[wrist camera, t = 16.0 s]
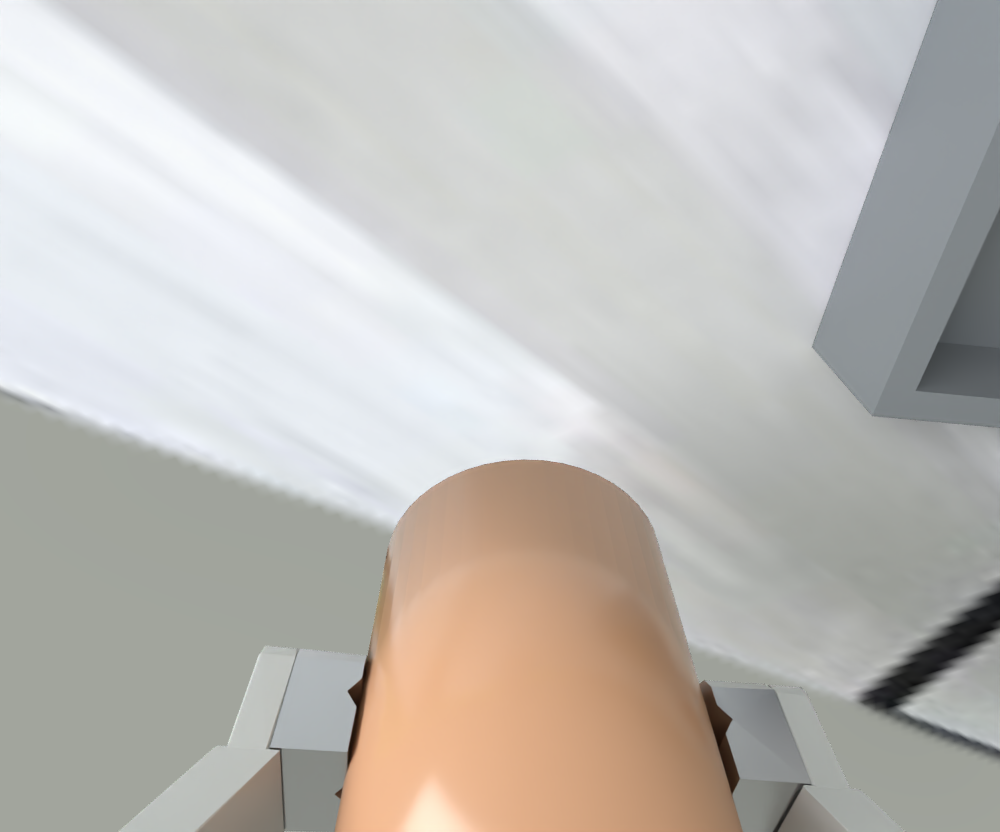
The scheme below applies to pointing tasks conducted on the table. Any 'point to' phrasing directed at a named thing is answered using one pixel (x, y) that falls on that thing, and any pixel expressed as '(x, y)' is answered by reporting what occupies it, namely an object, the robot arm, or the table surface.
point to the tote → (930, 240)
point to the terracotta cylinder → (530, 669)
